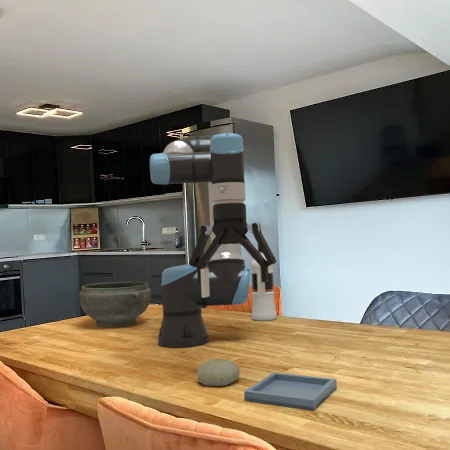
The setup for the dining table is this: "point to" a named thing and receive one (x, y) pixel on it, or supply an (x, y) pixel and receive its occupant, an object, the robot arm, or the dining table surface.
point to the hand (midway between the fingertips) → (233, 297)
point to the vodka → (266, 305)
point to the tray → (291, 390)
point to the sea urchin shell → (218, 372)
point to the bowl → (115, 302)
